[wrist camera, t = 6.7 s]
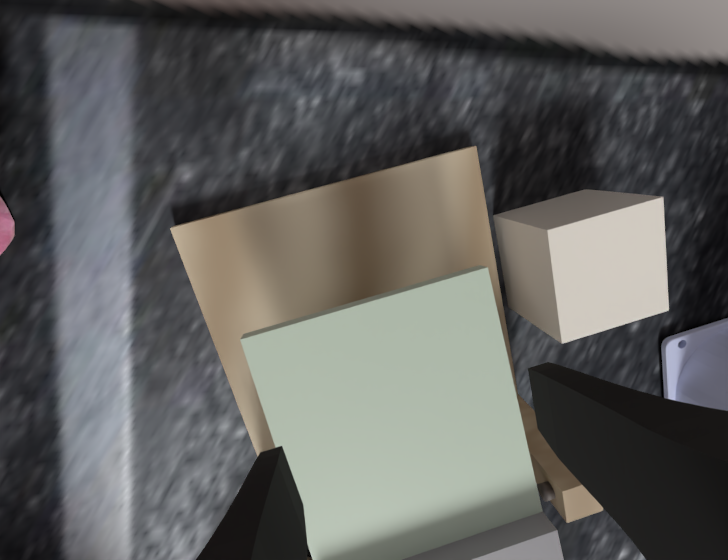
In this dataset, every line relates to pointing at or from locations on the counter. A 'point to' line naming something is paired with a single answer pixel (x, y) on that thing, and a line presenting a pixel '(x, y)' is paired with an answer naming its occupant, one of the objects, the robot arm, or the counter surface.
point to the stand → (351, 272)
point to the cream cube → (584, 261)
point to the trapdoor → (404, 426)
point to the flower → (5, 226)
